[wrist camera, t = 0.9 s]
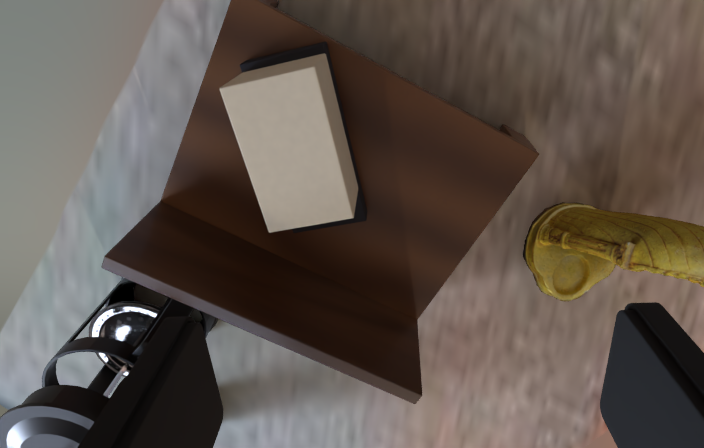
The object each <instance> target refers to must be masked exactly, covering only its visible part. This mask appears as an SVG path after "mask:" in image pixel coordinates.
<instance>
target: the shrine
mask: <svg viewBox="0 0 704 448" xmlns="http://www.w3.org/2000/svg"><path fill="white" fill-rule="evenodd" d="M523 258H524V259H525V261H526V264H527V266H528V267H529V269H530V270H531V271H532V272H533V275H534V278H535V281H536V284H537V286H538V287H539V289H540V290H541V292H543V293H545V294H547V295H549V296H554V298H556V299H560V300H561V301H571V300H574V299H577V298H579V297H581V296H582V295H583V294H584V293H586V292H587V291H589V290H590V288H591V287H592V286H593V285H594V284H596V283H598V282H599V281H601V280H602V279H605V278H606V277H608V276H609V275H610V273H611V272H612V271H613V269H614V268H615V265H619V266H620V267H621V268H623V269H627V270H631V271H636V272H641V271H644V270H647V271H649V272H652V273H658V274H659V273H660V274H663V275H664V276H669V275H670V276H674V277H675V278H682V279H688V281H691V282H693V283H699V284H700V285H701V286H702V287H704V227H703V226H699V225H696V224H692V223H687V222H682V221H677V220H673V219H668V218H662V217H654V216H647V215H641V214H633V213H621V212H620V213H619V212H610V211H604V210H599V209H596V208H594V207H592V206H590V205H584V204H580V203H560V204H556V205H553V206H551V207H549V208H546V209H544V211H543V212H541V213H540V214H539V215H538V216H537V217H536V218H535V219H534V221H533V222H532V224H531V226H530V228H529V231H528V234H527V236H526V239H525V244H524V251H523Z"/></svg>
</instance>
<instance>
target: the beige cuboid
mask: <svg viewBox="0 0 704 448" xmlns="http://www.w3.org/2000/svg"><path fill="white" fill-rule="evenodd" d="M240 68H241V71H242V73H241V74H240V75H238V76H237V77H235V78H234V79H232V80H231V81H229V82H228V83H226V84H225V85H223V86H222V87H220V92H221V95H222V98H223V101H224V104H225V107H226V109H227V112H228V115H229V118H230V121H231V124H232V127H233V130H234V133H235V136H236V138H237V141H238V144H239V147H240V150H241V153H242V156H243V159H244V162H245V165H246V167H247V170H248V173H249V176H250V179H251V182H252V185H253V188H254V191H255V194H256V196H257V199H258V202H259V205H260V208H261V211H262V214H263V217H264V220H265V223H266V225H267V228H268V231H269V233H271V232H277V231H282V230H288V229H292V231H293V233H299V232H304V231H310V230H316V229H322V228H328V227H333V226H339V225H345V224H351V223H357V222H362V221H366V219H367V208H366V204H365V199H364V195H363V191H362V187H361V183H360V179H359V174H358V170H357V166H356V162H355V158H354V154H353V149H352V145H351V141H350V137H349V133H348V128H347V124H346V120H345V116H344V112H343V108H342V103H341V99H340V95H339V91H338V87H337V83H336V78H335V74H334V70H333V66H332V62H331V58H330V53H329V49H328V45H327V42H326V41H325V42H321V43H317V44H313V45H308V46H304V47H300V48H296V49H292V50H287V51H283V52H279V53H275V54H271V55H267V56H262V57H258V58H254V59H250V60H246V61H244V62H243V63H241V64H240Z"/></svg>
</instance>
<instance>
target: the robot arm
mask: <svg viewBox="0 0 704 448" xmlns="http://www.w3.org/2000/svg"><path fill="white" fill-rule="evenodd" d="M600 409H601V414H602V417H603V419H604V421H605V423H606V425H607V427H608V429H609V431H610V433H611V435H612V437H613V439H614V441H615V443H616V445H617V447H618V448H704V353H703V352H702V351H701V349H700V348H699V347H698V346H697V345H696V344H695V343H694V341H693V340H692V339H691V338H690V337H689V336H688V335H687V333H686V332H685V331H684V330H683V329H682V328H681V327H680V325H679V324H678V323H677V322H676V321H675V320H674V319H673V318H672V316H671V315H670V314H669V313H668V312H667V311H666V310H665V308H664V307H663V306H662V305H661V304H659V303H630V304H627V306H626V307H625V310H620V311H619V312H618V313H617V317H616V322H615V327H614V332H613V337H612V343H611V348H610V353H609V358H608V363H607V369H606V374H605V379H604V384H603V389H602V395H601V400H600ZM222 419H223V406H222V402H221V398H220V394H219V390H218V386H217V382H216V378H215V374H214V370H213V367H212V363H211V359H210V355H209V351H208V347H207V343H206V339H205V335H204V331H203V328H202V325H201V324H200V323H199V322H195V321H194V319H193V318H192V317H190V316H186V317H167V318H165V319H164V320H163V321H162V323H161V324H160V326H159V327H158V329H157V330H156V332H155V334H154V335H153V337H152V338H151V340H150V341H149V343H148V344H147V346H146V347H145V349H144V350H143V352H142V353H141V355H140V356H139V358H138V360H137V361H136V363H135V364H134V366H133V367H132V369H131V370H130V372H129V373H128V375H127V376H126V377H125V378H124V379H123V380H122V381H121V383H120V384H119V385H118V387H117V388H116V390H115V391H114V393H113V394H112V396H111V397H110V399H109V401H108V402H107V404H106V405H105V407H104V408H103V410H102V411H101V413H100V414H99V416H98V417H97V419H96V420H95V422H94V423H93V425H92V426H91V428H90V429H89V431H88V432H87V434H86V435H85V437H84V438H83V440H82V441H81V443H80V444H79V446H78V448H213V445H214V443H215V440H216V437H217V435H218V432H219V429H220V426H221V423H222Z"/></svg>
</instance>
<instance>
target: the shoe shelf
mask: <svg viewBox="0 0 704 448" xmlns="http://www.w3.org/2000/svg"><path fill="white" fill-rule="evenodd" d="M277 5H278V0H231V2H230V5H229V8H228V11H227V14H226V16H225V19H224V22H223V25H222V28H221V31H220V33H219V36H218V39H217V42H216V45H215V48H214V51H213V53H212V56H211V59H210V62H209V65H208V68H207V70H206V73H205V76H204V79H203V82H202V85H201V87H200V90H199V93H198V96H197V99H196V102H195V105H194V107H193V110H192V113H191V116H190V119H189V122H188V124H187V127H186V130H185V133H184V136H183V139H182V142H181V144H180V147H179V150H178V153H177V156H176V159H175V161H174V164H173V167H172V170H171V173H170V176H169V178H168V181H167V184H166V187H165V190H164V193H163V196H162V198H161V201H160V202H159V203H158V204H157V205H156V206H155V207H154V208H153V209H152V210H151V211H150V212H149V213H148V214H147V215H146V216H145V217H144V218H143V219H142V220H141V221H140V222H139V223H138V224H137V225H136V226H135V227H134V228H133V229H132V230H131V231H130V232H129V233H128V234H127V235H126V236H125V237H124V238H123V239H122V240H121V241H120V242H119V243H118V244H117V245H115V246H114V247H113V248H112V249H111V250H110V251H109V252H108V253H107V254H106V255H105V257H104V260H103V263H102V268H103V269H105V270H108V271H110V272H112V273H115V274H117V275H119V276H121V277H124V278H126V279H128V280H131V281H133V282H135V283H137V284H140V285H142V286H144V287H147V288H149V289H151V290H154V291H156V292H158V293H160V294H163V295H165V296H167V297H170V298H172V299H174V300H177V301H179V302H181V303H183V304H186V305H188V306H190V307H193V308H195V309H197V310H200V311H202V312H204V313H206V314H209V315H211V316H213V317H216V318H218V319H220V320H223V321H225V322H227V323H229V324H232V325H234V326H236V327H239V328H241V329H243V330H246V331H248V332H250V333H252V334H255V335H257V336H259V337H262V338H264V339H266V340H269V341H271V342H273V343H275V344H278V345H280V346H282V347H285V348H287V349H289V350H291V351H294V352H296V353H298V354H301V355H303V356H305V357H308V358H310V359H312V360H314V361H317V362H319V363H321V364H324V365H326V366H328V367H331V368H333V369H335V370H337V371H340V372H342V373H344V374H347V375H349V376H351V377H354V378H356V379H358V380H360V381H363V382H365V383H367V384H370V385H372V386H374V387H377V388H379V389H381V390H383V391H386V392H388V393H390V394H393V395H395V396H397V397H400V398H402V399H404V400H406V401H409V402H411V403H413V404H416V403H417V401H418V400H419V399H420V398H421V397H422V383H421V369H420V354H419V339H418V325H417V319H418V318H419V317H420V315H421V314H422V313H423V311H424V310H425V309H426V307H427V306H428V305H429V303H430V302H431V300H432V299H433V298H434V296H435V295H436V294H437V292H438V291H439V290H440V288H441V287H442V286H443V284H444V283H445V282H446V280H447V279H448V277H449V276H450V275H451V273H452V272H453V271H454V269H455V268H456V267H457V265H458V264H459V263H460V261H461V260H462V258H463V257H464V256H465V254H466V253H467V252H468V250H469V249H470V248H471V246H472V245H473V244H474V242H475V241H476V240H477V238H478V237H479V235H480V234H481V233H482V231H483V230H484V229H485V227H486V226H487V225H488V223H489V222H490V221H491V219H492V218H493V216H494V215H495V214H496V212H497V211H498V210H499V208H500V207H501V206H502V204H503V203H504V202H505V200H506V199H507V197H508V196H509V195H510V193H511V192H512V191H513V189H514V188H515V187H516V185H517V184H518V183H519V181H520V180H521V179H522V177H523V176H524V174H525V173H526V172H527V170H528V169H529V168H530V166H531V165H532V164H533V162H534V161H535V160H536V158H537V157H538V155H539V153H538V152H537V151H536V149H535V148H534V147H533V146H532V144H531V143H530V142H529V141H528V139H527V138H526V137H525V136H524V135H522V134H520V133H518V132H517V131H515V130H513V129H511V128H509V127H507V126H506V125H502V127H501V128H500V130H498V129H496V128H495V127H493V126H491V125H489V124H487V123H485V122H484V121H482V120H480V119H478V118H476V117H474V116H473V115H471V114H469V113H467V112H465V111H463V110H462V109H460V108H458V107H456V106H454V105H452V104H451V103H449V102H447V101H445V100H443V99H441V98H440V97H438V96H436V95H434V94H432V93H430V92H429V91H427V90H425V89H423V88H421V87H419V86H418V85H416V84H414V83H412V82H410V81H409V80H407V79H405V78H403V77H401V76H399V75H398V74H396V73H394V72H392V71H390V70H388V69H387V68H385V67H383V66H381V65H379V64H377V63H376V62H374V61H372V60H370V59H368V58H366V57H365V56H363V55H361V54H359V53H357V52H355V51H354V50H352V49H350V48H348V47H346V46H344V45H343V44H341V43H339V42H337V41H335V40H333V39H332V38H330V37H328V36H326V35H324V34H323V33H321V32H319V31H317V30H315V29H313V28H312V27H310V26H308V25H306V24H304V23H302V22H301V21H299V20H297V19H295V18H293V17H291V16H290V15H288V14H286V13H284V12H282V11H280V10H279V9H277V8H276V7H277ZM325 41H326V42H327V45H328V49H329V53H330V58H331V62H332V66H333V70H334V74H335V78H336V83H337V87H338V91H339V95H340V99H341V103H342V108H343V112H344V116H345V120H346V124H347V128H348V133H349V137H350V141H351V145H352V149H353V154H354V158H355V162H356V166H357V170H358V174H359V179H360V183H361V187H362V191H363V195H364V199H365V204H366V208H367V219H366V221H362V222H357V223H351V224H345V225H339V226H333V227H328V228H322V229H316V230H310V231H304V232H299V233H293V231H292V229H288V230H282V231H277V232H271V233H269V231H268V228H267V225H266V223H265V220H264V217H263V214H262V211H261V208H260V205H259V202H258V199H257V196H256V194H255V191H254V188H253V185H252V182H251V179H250V176H249V173H248V170H247V167H246V165H245V162H244V159H243V156H242V153H241V150H240V147H239V144H238V141H237V138H236V136H235V133H234V130H233V127H232V124H231V121H230V118H229V115H228V112H227V109H226V107H225V104H224V101H223V98H222V95H221V92H220V87H222V86H223V85H225V84H226V83H228V82H229V81H231V80H232V79H234V78H235V77H237V76H238V75H240V74H241V73H242V71H241V68H240V64H241V63H243V62H244V61H246V60H250V59H254V58H258V57H262V56H267V55H271V54H275V53H279V52H283V51H287V50H292V49H296V48H300V47H304V46H308V45H313V44H317V43H321V42H325Z"/></svg>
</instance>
